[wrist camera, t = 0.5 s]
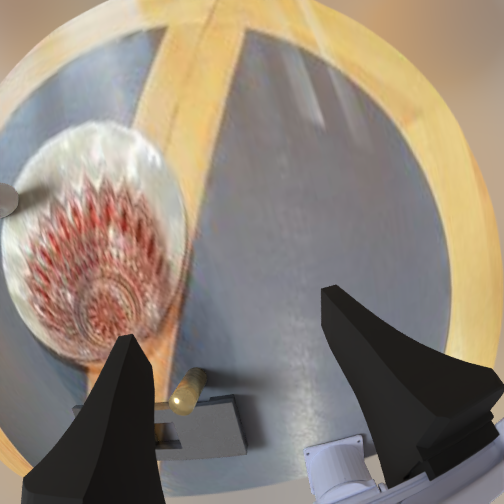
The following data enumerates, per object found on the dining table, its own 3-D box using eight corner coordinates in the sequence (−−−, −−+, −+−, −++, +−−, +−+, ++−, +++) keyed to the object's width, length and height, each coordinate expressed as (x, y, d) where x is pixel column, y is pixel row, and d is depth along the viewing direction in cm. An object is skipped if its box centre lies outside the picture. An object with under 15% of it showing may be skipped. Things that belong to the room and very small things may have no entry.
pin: (209, 385, 37) (196, 414, 29) (189, 387, 37) (172, 416, 29) (204, 366, 37) (189, 392, 29) (184, 368, 37) (165, 394, 29)
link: (247, 444, 37) (246, 454, 34) (150, 451, 37) (145, 460, 35) (233, 394, 37) (231, 402, 35) (132, 404, 38) (125, 411, 35)
